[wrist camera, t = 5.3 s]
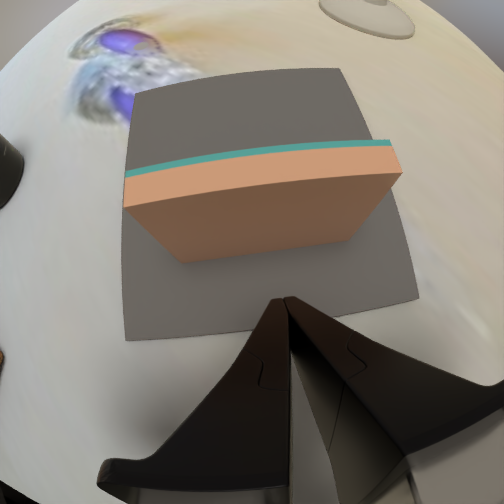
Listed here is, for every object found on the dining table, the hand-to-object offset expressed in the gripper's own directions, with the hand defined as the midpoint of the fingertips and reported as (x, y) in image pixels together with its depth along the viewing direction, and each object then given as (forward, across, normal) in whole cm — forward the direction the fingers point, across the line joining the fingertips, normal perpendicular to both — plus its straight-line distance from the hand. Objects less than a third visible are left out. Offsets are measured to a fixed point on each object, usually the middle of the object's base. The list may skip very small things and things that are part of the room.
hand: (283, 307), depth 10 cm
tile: (+8, 0, -1) cm, 8 cm away
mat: (+12, 0, +2) cm, 12 cm away
